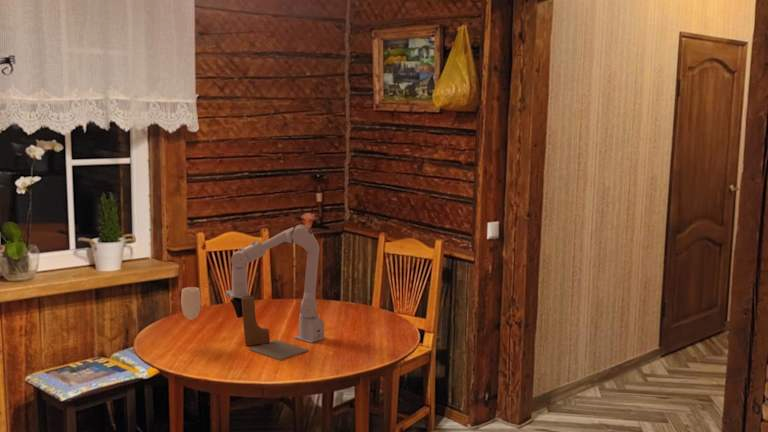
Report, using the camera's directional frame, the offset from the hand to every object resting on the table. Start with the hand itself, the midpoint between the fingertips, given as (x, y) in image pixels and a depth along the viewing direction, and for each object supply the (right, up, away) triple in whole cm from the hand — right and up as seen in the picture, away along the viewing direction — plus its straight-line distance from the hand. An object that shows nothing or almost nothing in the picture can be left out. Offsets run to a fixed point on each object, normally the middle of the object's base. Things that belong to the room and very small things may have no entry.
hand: (239, 317), depth 293 cm
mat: (+17, -11, -12) cm, 23 cm away
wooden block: (+8, -9, -5) cm, 13 cm away
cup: (-17, -9, -5) cm, 20 cm away
